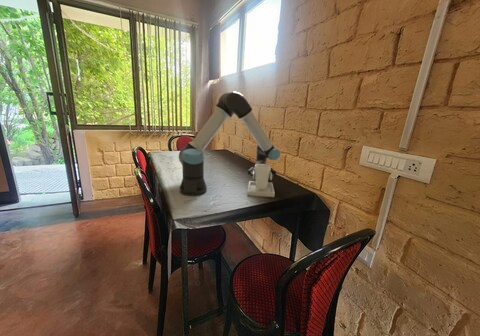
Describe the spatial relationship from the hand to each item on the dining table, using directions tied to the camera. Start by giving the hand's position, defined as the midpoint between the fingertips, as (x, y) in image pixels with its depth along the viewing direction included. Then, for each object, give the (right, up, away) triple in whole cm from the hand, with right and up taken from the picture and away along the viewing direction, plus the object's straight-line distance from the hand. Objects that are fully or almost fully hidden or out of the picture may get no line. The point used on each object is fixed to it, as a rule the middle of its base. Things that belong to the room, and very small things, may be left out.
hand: (262, 177), depth 114 cm
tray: (0, -8, +8) cm, 12 cm away
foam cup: (0, -6, +6) cm, 9 cm away
